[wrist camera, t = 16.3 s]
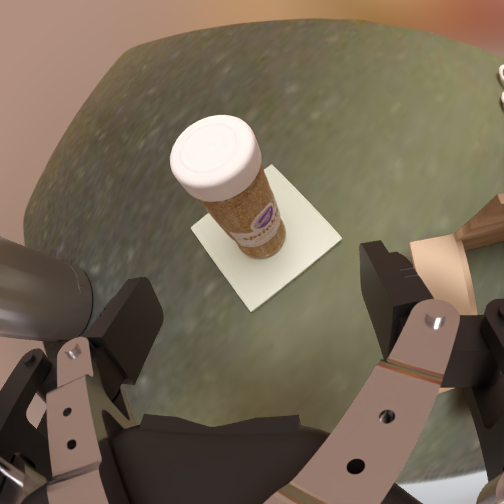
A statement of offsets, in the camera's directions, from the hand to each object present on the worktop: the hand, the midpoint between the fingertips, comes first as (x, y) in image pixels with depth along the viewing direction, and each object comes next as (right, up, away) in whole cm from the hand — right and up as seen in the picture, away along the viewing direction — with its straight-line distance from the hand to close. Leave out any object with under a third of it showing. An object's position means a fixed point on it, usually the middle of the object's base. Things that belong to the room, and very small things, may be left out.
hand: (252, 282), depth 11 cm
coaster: (+1, +3, +16) cm, 17 cm away
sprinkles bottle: (+1, +3, +16) cm, 16 cm away
